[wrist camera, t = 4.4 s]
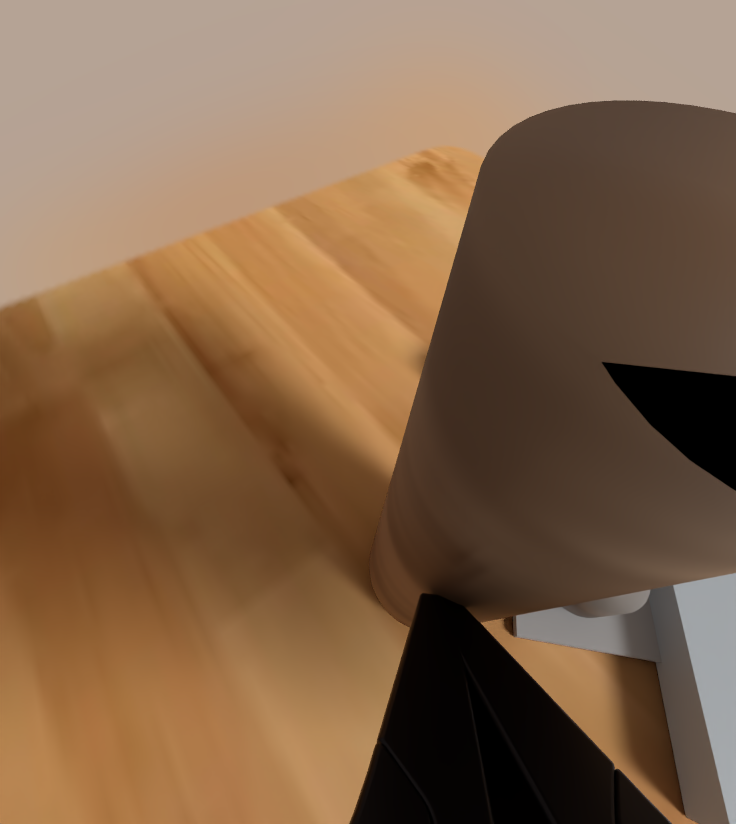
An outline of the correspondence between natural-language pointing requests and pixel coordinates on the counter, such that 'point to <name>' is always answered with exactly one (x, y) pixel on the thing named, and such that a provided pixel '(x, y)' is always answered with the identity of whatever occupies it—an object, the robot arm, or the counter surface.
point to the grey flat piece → (675, 677)
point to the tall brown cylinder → (577, 375)
